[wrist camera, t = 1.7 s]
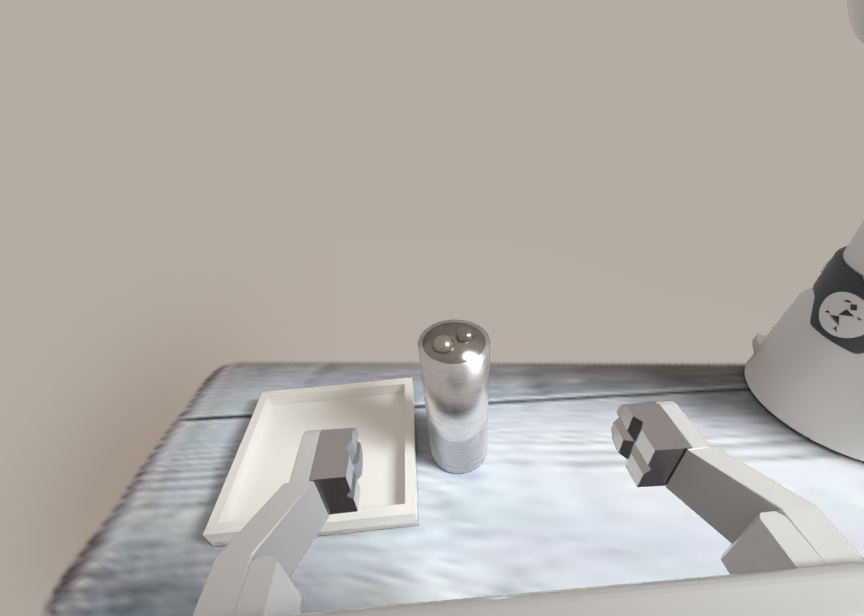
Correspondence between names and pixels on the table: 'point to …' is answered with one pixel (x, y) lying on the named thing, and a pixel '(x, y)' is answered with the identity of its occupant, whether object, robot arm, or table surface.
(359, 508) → the cream tray
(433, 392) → the metal cup with balls
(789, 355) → the robot arm
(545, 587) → the table surface
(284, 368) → the table surface
